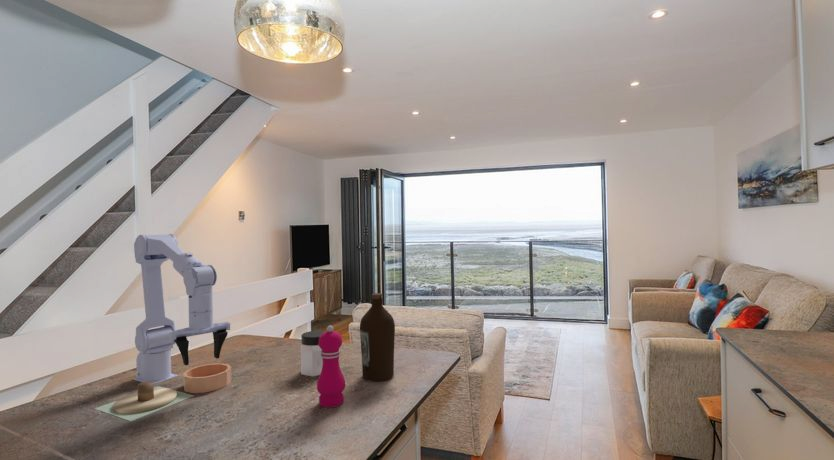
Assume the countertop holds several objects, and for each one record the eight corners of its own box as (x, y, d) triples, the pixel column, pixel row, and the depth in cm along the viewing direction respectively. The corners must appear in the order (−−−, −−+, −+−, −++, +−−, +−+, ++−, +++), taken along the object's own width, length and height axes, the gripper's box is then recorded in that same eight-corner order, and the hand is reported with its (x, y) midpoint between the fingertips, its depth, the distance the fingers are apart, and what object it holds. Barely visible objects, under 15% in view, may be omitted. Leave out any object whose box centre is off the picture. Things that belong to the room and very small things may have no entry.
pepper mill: (350, 398, 109) (349, 323, 109) (336, 410, 102) (335, 329, 102) (326, 395, 111) (325, 321, 111) (311, 406, 104) (310, 327, 104)
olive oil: (389, 367, 132) (387, 290, 132) (400, 379, 122) (399, 295, 122) (356, 373, 128) (355, 292, 127) (366, 385, 118) (364, 298, 118)
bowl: (174, 389, 117) (174, 374, 116) (212, 375, 127) (212, 361, 127) (202, 397, 111) (202, 380, 111) (239, 381, 122) (239, 366, 122)
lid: (101, 407, 104) (100, 389, 104) (156, 387, 117) (156, 371, 117) (133, 418, 98) (132, 398, 98) (188, 396, 111) (188, 378, 111)
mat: (94, 410, 104) (94, 408, 104) (158, 387, 118) (158, 386, 118) (131, 423, 97) (131, 421, 97) (194, 397, 111) (194, 395, 111)
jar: (305, 378, 124) (304, 339, 123) (297, 371, 130) (296, 333, 130) (333, 372, 128) (333, 334, 128) (324, 365, 135) (323, 329, 135)
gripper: (174, 317, 103) (175, 371, 103) (233, 308, 113) (234, 358, 113) (167, 313, 108) (168, 364, 108) (224, 305, 118) (225, 352, 118)
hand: (201, 360), depth 111 cm, fingers open, 7 cm apart
